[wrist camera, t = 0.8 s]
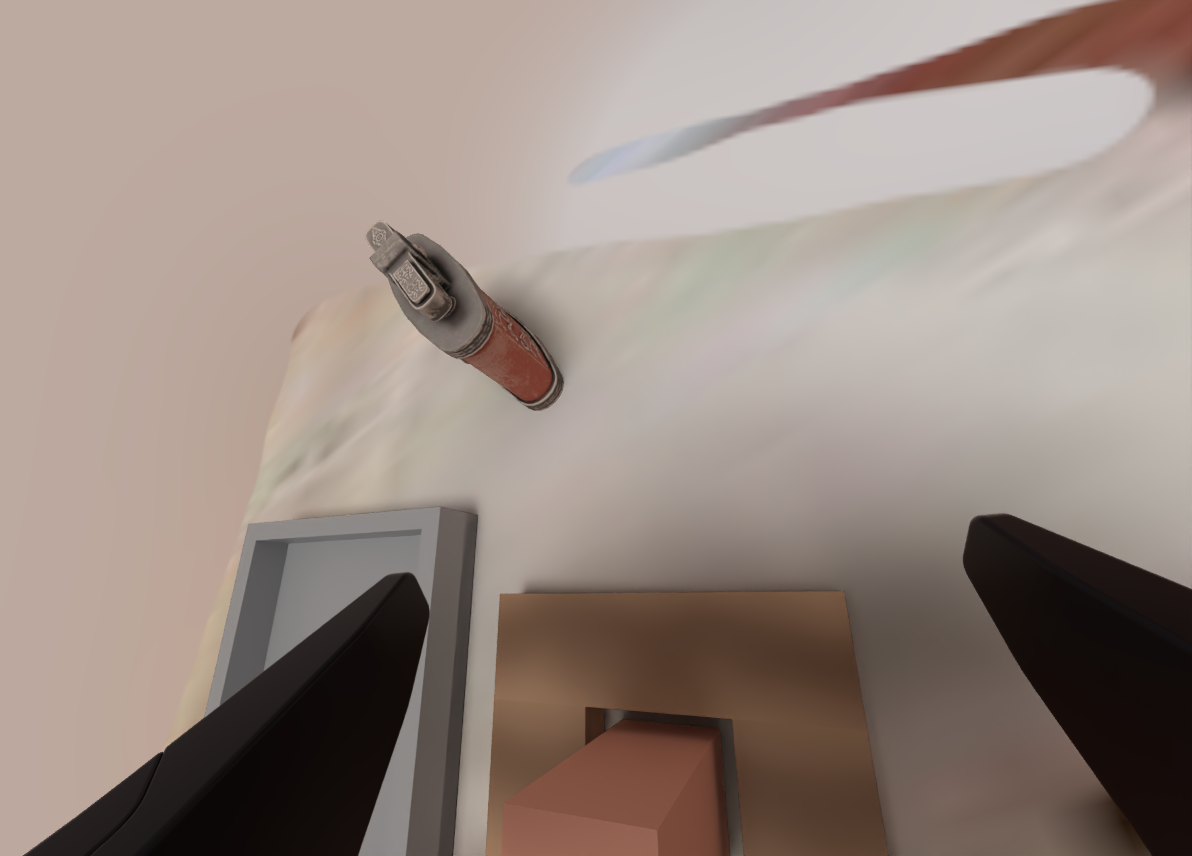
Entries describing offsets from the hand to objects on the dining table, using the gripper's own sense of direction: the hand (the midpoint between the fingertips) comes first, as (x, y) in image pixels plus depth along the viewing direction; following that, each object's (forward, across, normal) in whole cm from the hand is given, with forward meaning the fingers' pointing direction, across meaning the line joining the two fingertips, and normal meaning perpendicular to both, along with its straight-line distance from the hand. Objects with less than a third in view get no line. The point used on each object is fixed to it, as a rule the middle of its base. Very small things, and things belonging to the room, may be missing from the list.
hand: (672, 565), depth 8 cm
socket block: (+4, +1, +15) cm, 16 cm away
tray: (+9, +18, +16) cm, 25 cm away
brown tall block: (+4, +1, +15) cm, 16 cm away
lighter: (+20, +8, +2) cm, 22 cm away
